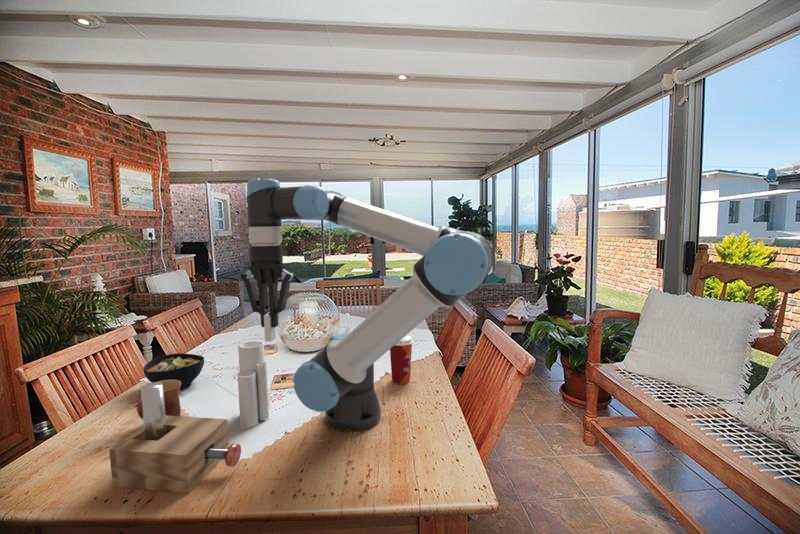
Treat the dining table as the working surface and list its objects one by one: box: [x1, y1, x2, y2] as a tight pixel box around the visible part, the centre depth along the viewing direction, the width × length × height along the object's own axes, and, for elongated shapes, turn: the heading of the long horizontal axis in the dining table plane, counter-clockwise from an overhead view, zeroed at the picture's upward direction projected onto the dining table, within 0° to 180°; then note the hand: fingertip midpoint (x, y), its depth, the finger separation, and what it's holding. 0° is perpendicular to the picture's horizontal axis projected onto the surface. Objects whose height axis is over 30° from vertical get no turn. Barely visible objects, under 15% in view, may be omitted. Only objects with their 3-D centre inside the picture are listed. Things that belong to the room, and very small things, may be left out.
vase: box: [237, 340, 270, 429], centre depth 104 cm, size 11×7×20 cm, turn 19°
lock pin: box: [205, 443, 242, 468], centre depth 82 cm, size 14×4×4 cm, turn 83°
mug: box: [136, 380, 181, 420], centre depth 101 cm, size 12×9×10 cm
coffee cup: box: [389, 334, 414, 385], centre depth 128 cm, size 8×8×15 cm
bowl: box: [143, 353, 205, 392], centre depth 125 cm, size 17×17×10 cm
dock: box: [108, 415, 230, 494], centre depth 83 cm, size 17×14×8 cm
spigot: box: [140, 382, 167, 441], centre depth 83 cm, size 4×4×14 cm
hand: (270, 339), depth 94 cm, fingers closed
